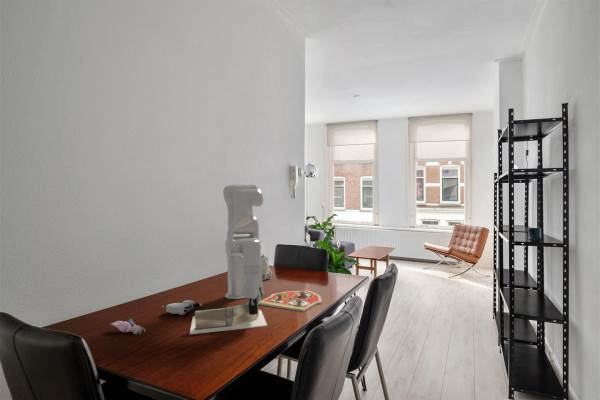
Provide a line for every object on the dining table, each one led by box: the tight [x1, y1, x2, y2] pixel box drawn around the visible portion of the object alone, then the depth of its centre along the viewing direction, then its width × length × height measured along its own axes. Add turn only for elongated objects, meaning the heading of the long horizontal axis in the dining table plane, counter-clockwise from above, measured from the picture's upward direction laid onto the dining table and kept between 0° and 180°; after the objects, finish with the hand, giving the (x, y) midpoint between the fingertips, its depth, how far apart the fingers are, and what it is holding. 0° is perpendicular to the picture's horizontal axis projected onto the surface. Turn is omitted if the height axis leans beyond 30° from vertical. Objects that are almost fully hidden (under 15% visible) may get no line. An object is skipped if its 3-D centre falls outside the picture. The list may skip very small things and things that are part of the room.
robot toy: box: [161, 299, 203, 316], centre depth 164 cm, size 12×4×15 cm
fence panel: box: [231, 302, 259, 324], centre depth 148 cm, size 12×1×7 cm, turn 128°
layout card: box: [189, 309, 268, 335], centre depth 149 cm, size 20×30×1 cm, turn 103°
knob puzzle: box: [258, 289, 323, 313], centre depth 178 cm, size 29×30×4 cm
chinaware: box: [261, 253, 273, 281], centre depth 226 cm, size 28×17×17 cm, turn 18°
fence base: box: [194, 306, 233, 329], centre depth 142 cm, size 2×14×8 cm, turn 103°
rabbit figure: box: [109, 318, 146, 335], centre depth 140 cm, size 6×6×15 cm
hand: (253, 313), depth 146 cm, fingers closed
